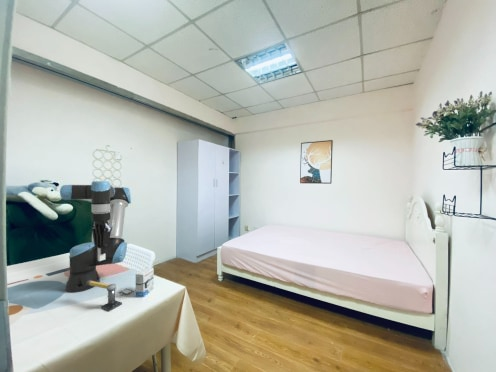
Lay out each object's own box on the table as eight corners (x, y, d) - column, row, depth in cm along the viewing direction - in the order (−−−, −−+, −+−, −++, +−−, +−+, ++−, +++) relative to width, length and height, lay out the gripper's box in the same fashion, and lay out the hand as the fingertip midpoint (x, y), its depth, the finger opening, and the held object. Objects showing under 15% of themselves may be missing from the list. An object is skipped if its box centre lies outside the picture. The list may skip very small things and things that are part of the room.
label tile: (119, 293, 109) (119, 291, 109) (126, 289, 112) (126, 288, 112) (126, 295, 106) (126, 294, 106) (133, 291, 110) (133, 290, 110)
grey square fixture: (101, 308, 96) (100, 291, 95) (113, 301, 101) (113, 285, 101) (109, 311, 93) (109, 294, 93) (122, 304, 99) (121, 287, 98)
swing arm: (110, 292, 95) (110, 287, 95) (83, 286, 100) (83, 282, 100) (117, 288, 98) (117, 284, 98) (91, 282, 103) (91, 278, 103)
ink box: (143, 297, 105) (143, 274, 104) (135, 296, 106) (134, 273, 105) (154, 288, 113) (154, 267, 113) (146, 288, 114) (146, 267, 114)
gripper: (117, 212, 102) (117, 259, 102) (101, 210, 107) (101, 255, 107) (101, 214, 95) (101, 265, 95) (84, 212, 100) (85, 260, 100)
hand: (101, 260), depth 101 cm, fingers closed
